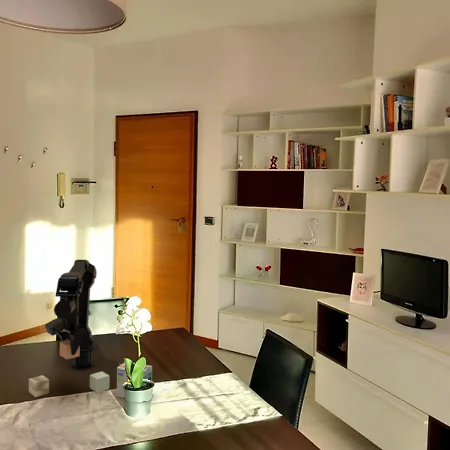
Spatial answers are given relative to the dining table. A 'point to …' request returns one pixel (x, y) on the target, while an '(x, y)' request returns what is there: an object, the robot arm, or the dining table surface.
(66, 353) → the terracotta block
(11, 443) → the dining table surface
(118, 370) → the light bulb box
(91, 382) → the sage block
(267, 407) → the dining table surface
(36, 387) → the birch block
